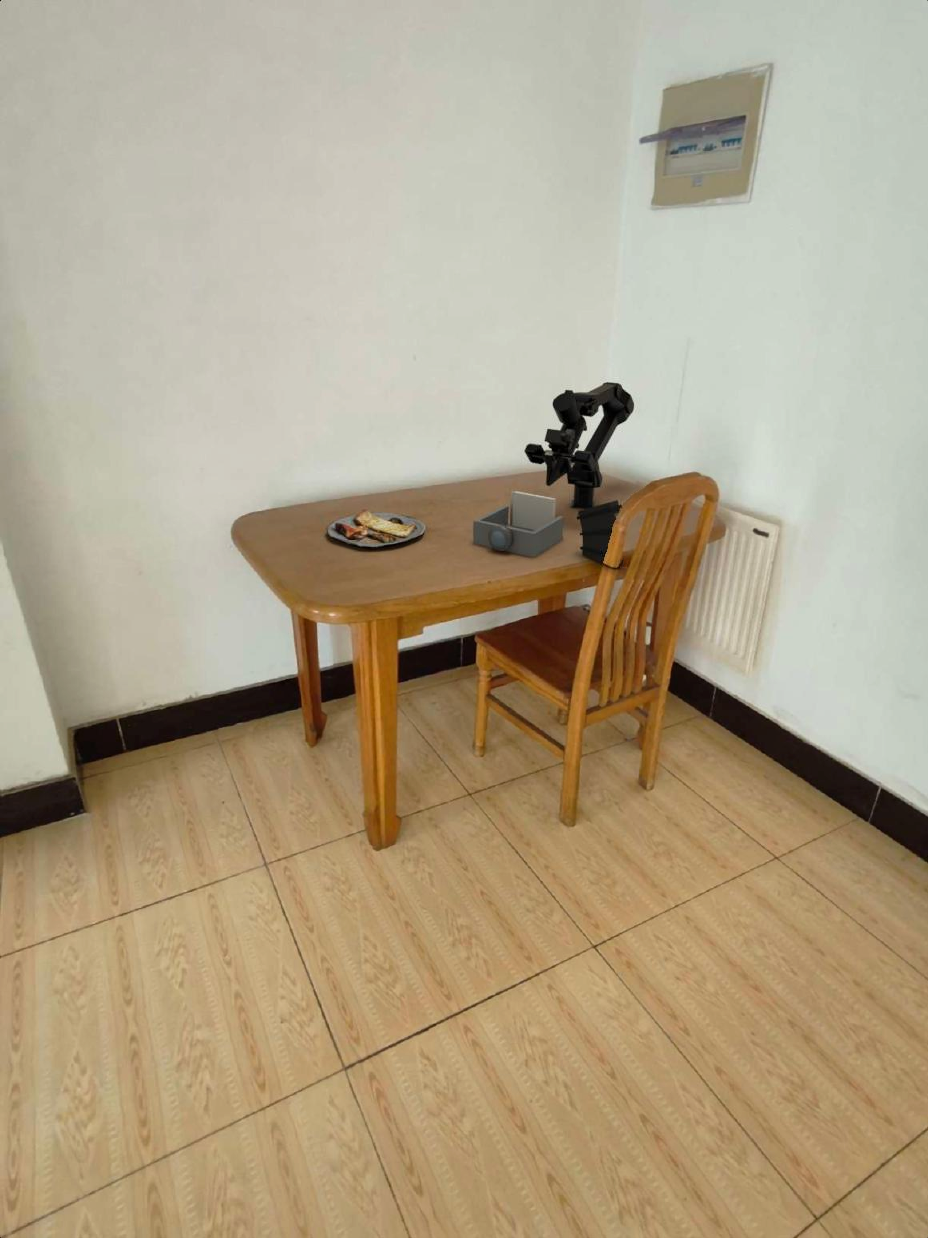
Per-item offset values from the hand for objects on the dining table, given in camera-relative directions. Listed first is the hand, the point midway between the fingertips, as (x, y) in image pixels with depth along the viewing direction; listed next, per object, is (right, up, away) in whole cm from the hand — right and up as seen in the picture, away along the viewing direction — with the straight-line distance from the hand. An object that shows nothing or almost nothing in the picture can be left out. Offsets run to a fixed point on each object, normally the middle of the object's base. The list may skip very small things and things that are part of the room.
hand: (547, 485), depth 188 cm
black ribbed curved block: (+10, -21, -15) cm, 28 cm away
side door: (-4, -11, 0) cm, 12 cm away
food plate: (-45, -13, 0) cm, 47 cm away
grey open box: (-9, -16, -5) cm, 19 cm away
